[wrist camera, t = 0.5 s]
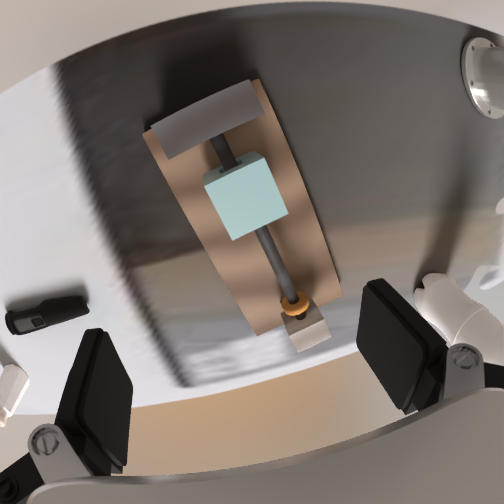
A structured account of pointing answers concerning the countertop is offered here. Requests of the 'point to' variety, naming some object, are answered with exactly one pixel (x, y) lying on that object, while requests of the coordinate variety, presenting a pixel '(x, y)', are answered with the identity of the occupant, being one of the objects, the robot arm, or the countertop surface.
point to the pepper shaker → (11, 390)
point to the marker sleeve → (245, 195)
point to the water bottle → (460, 317)
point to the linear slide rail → (264, 238)
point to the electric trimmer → (46, 315)
